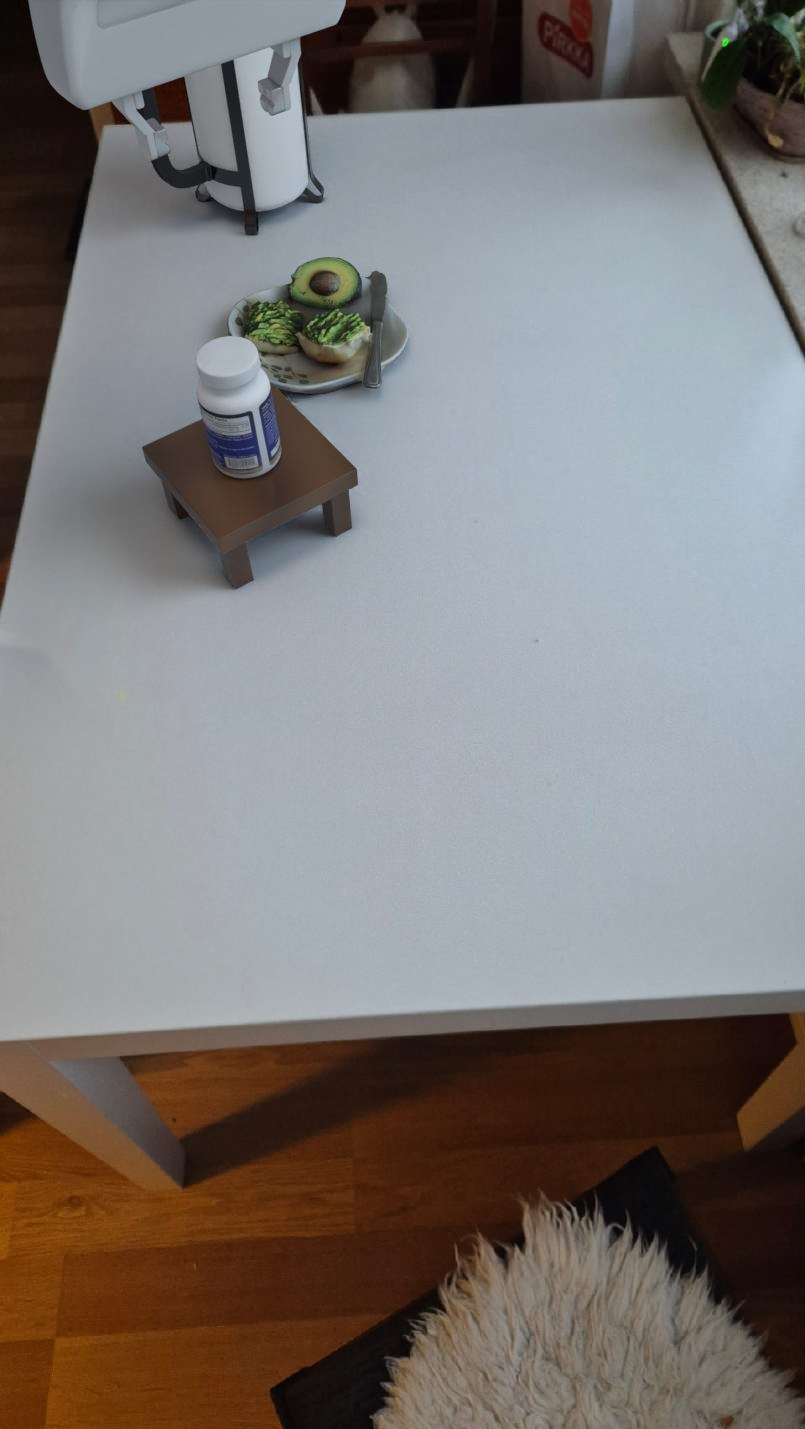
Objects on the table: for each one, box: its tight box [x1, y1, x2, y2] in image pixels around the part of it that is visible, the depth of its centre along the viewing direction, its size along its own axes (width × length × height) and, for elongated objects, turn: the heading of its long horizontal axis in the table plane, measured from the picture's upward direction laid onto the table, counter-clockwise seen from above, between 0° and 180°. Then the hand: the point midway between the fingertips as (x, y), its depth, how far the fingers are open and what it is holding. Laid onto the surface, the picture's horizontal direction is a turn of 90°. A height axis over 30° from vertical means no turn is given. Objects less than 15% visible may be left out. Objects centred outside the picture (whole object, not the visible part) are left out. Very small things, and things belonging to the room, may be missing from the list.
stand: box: [141, 385, 359, 590], centre depth 86 cm, size 13×13×7 cm
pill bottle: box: [195, 335, 281, 479], centre depth 79 cm, size 6×6×10 cm
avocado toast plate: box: [226, 256, 409, 395], centre depth 100 cm, size 19×18×5 cm
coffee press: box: [137, 47, 325, 234], centre depth 104 cm, size 17×16×30 cm
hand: (217, 132), depth 69 cm, fingers open, 8 cm apart
